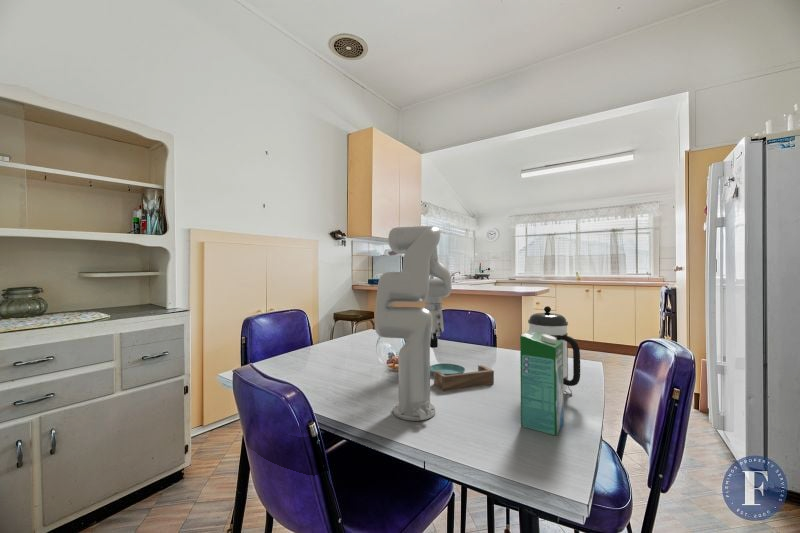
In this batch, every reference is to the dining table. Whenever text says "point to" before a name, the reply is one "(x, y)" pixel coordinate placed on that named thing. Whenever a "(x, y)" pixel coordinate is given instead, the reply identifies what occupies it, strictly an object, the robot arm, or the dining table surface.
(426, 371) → the robot arm
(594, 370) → the dining table surface
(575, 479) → the dining table surface
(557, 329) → the coffee press
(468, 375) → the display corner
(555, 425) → the milk carton
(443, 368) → the saucer
